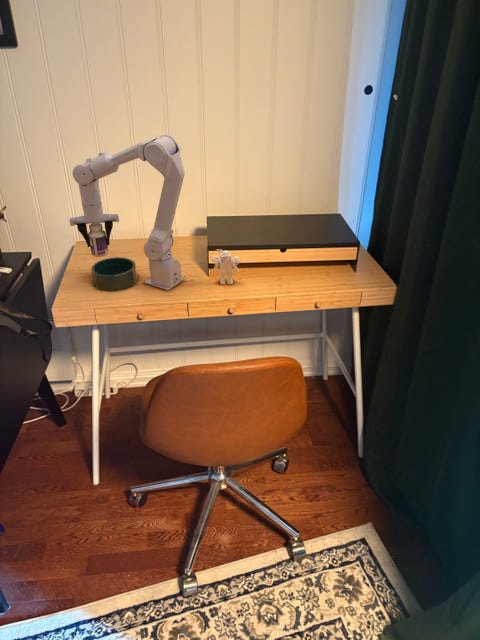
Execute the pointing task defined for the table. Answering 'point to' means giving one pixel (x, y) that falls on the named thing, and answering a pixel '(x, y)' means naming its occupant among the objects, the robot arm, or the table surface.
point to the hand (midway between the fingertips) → (98, 244)
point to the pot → (114, 273)
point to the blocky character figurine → (225, 265)
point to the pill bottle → (97, 240)
